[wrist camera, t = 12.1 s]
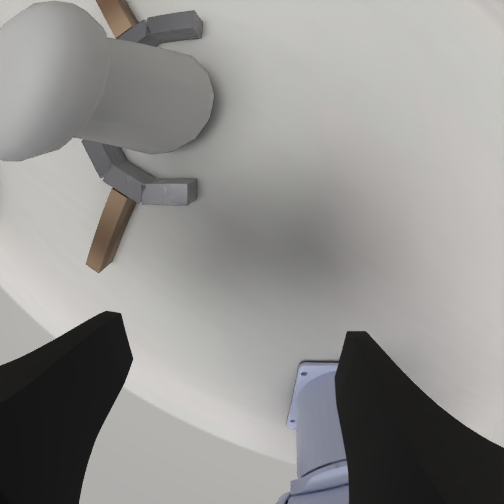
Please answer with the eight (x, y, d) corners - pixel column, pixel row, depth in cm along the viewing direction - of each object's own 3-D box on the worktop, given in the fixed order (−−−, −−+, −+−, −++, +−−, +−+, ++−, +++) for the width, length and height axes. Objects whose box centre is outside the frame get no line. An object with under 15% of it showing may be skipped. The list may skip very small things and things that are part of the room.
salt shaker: (134, 155, 17) (-45, 210, 5) (131, 71, 15) (-40, 32, 3) (223, 147, 16) (92, 181, 4) (221, 55, 14) (111, -72, 2)
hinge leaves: (147, 264, 20) (135, 277, 18) (101, 260, 20) (87, 272, 18) (154, -24, 12) (143, -36, 10) (104, -10, 12) (91, -19, 10)
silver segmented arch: (196, 198, 18) (187, 205, 16) (100, 197, 18) (84, 204, 16) (202, 22, 13) (194, 10, 11) (103, 40, 14) (87, 33, 12)
